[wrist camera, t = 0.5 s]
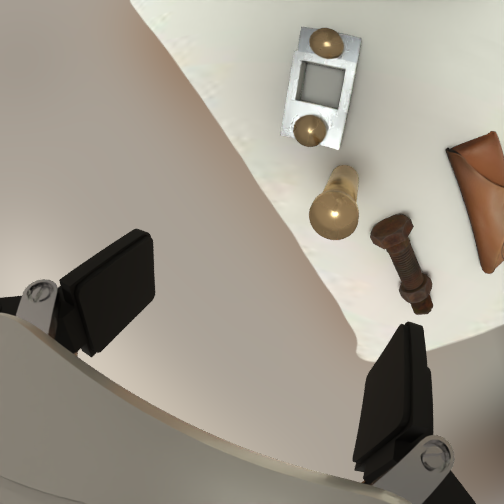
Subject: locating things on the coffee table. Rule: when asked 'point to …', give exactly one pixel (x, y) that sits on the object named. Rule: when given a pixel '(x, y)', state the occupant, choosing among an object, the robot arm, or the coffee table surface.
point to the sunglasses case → (483, 194)
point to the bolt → (404, 261)
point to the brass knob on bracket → (311, 114)
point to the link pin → (337, 205)
